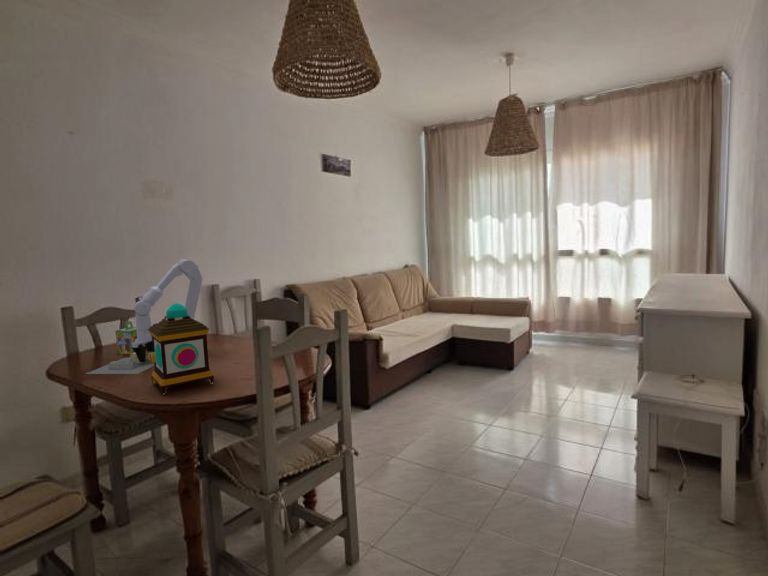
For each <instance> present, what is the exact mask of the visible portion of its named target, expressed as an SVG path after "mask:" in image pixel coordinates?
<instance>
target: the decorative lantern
mask: <svg viewBox="0 0 768 576" xmlns="http://www.w3.org/2000/svg"><path fill="white" fill-rule="evenodd" d="M148 331H149V333H150V334H151V336H152V344H153V353H151V354H150V360H151V361H152V362H154V366H153V367H154V369H153V371H152V374H151V382H152V384H153V383H156V384H157V385H158V386H159V388H160V391H161V392H160V393H161V395H162V394H163V393H166V394H167V389H168V388H170V387H175V386H181V385H185V384H190V383H195V382H200V381H203V380H208V383H209V382H210V383H212V382H214V383H215V378H214V374H213V372H212V370H211V369H210V364H209V353H208V352H209V350H210V344H209V341H208V333H209V332H210V328H209V327H207V325H206V324H204V323H203V322H200V321H198V320H196V319H195V318H194V319H192V318H190V316H189V315H188V313H187V309H186V308H185V305H183V304H182V303H179V302H175V303H173V304H171V305H170V306H169V307H168V308H167V310H166V315H165V316H164V318H162V319H161V320H160V321H159V322H158V323H156V322H155V323H154V324H153V323H152V325H151V327H150V328H149V329H148Z"/></svg>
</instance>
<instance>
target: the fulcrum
mask: <svg viewBox="0 0 768 576" xmlns="http://www.w3.org/2000/svg"><path fill="white" fill-rule="evenodd" d="M109 364H110V366H109V370H132V369H135V368H137V367H138V363H136V361H118V360H113V361H111V362H109Z"/></svg>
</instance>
